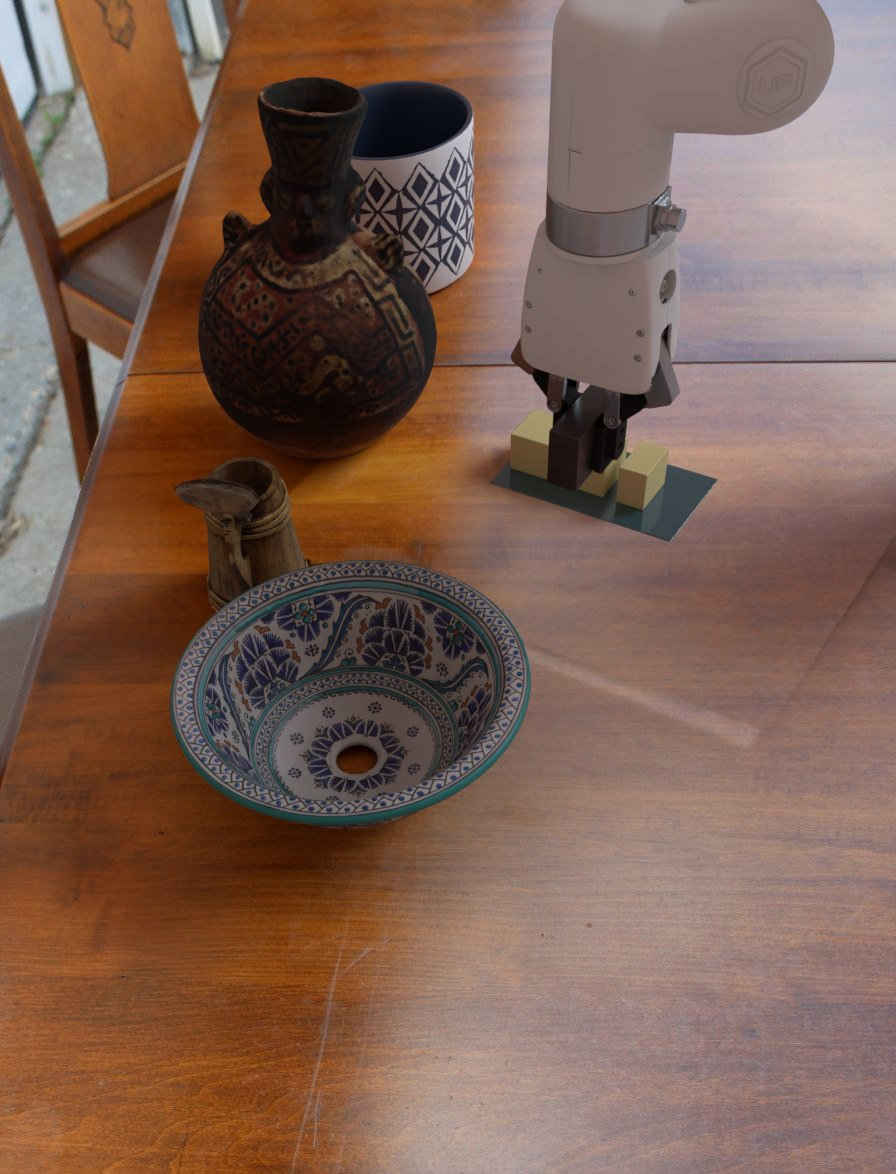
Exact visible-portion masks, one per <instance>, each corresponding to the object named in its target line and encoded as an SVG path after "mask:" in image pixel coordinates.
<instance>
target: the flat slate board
mask: <svg viewBox="0 0 896 1174" xmlns="http://www.w3.org/2000/svg"><path fill="white" fill-rule="evenodd" d="M631 453H632V452H628V451H627V453H626V459H627V458H628V457H629V455H630V454H631ZM718 481H719V479H718V478H715V477H711V476H708V475H705V474H701V473H698V472H696V471H692V470H688V469H685V468H682V467H679V466H675V465H672V464H668V463H667V468H666V475H665V483H664V485H663V486H662V487H661V488H660V490H659V491H658V492H657V493H656V495H655V496H654V497H653V498H652V500H651V501H650V502H649V503H648V505H647V506H646V507H645V508H644V510H640V509H637V508H634V507H631V506H628V505H625V504H621V503H618V502H616V498H617V488H618V480H617V481H616V482H615V483H614V485H613V486H612V487H611V488H610V489H609V491H608V492H607V493H606V494H605V495H604V497H600V496H597V495H594V494H590V493H587V492H584V491H581V490H577V491H576V492H574V491H571V490H568V489H565V488H561V487H558V486H555V485H552V484H549V483H547V479H543V478H540V477H537V476H534V475H531V474H528V473H525V472H521V471H518V470H515V469H512V468H510V459H509V461H507V463H506V464H505V465H504V466H502V468H501V469H500V470H499V471H498V473H497V474H496V475H495V476H494V477H493V478H492V479H491V480H490V482H489V484H491V485H493V486H497V487H500V488H503V489H506V490H510V491H513V492H516V493H518V494H522V495H524V496H527V497H531V498H535V499H537V500H540V501H543V502H546V503H549V504H553V505H555V506H558V507H561V508H564V509H568V510H570V511H574V512H577V513H580V514H582V515H586V516H589V517H592V518H595V519H598V520H601V521H603V522H608V523H610V524H613V525H617V526H620V527H622V528H626V529H629V530H632V531H634V532H638V533H641V534H645V535H648V536H650V537H653V538H656V539H659V540H663V541H666V542H669V543H670V542H671V543H672V541H673V540H674V538H675V537H676V536H677V534H678V533H679V532H680V530H681V529H682V528H683V527H684V525H685V524H686V523H687V521H688V520H689V519H690V517H691V516H692V515H693V514H694V512H695V511H696V509H697V508H698V507H699V506H700V505H701V503H702V502H703V501H704V499H705V498H706V497H707V496H708V494H709V493H710V491H712V489H713V488H714V486H715V485H716V484H717V482H718Z"/></svg>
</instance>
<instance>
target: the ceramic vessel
mask: <svg viewBox="0 0 896 1174" xmlns="http://www.w3.org/2000/svg"><path fill="white" fill-rule="evenodd" d="M356 89H357V88H355V87H353V86H350V85H347V84H345V83H344V82H342V81H339V80H337V79H335V78H327V77H321V76H308V77H307V76H304V77H303V76H301V77H296V78H292V79H287V80H284V81H277V82H273V83H271V84H268V85H266V86H264V87H263V89H262V90H260V91H259V93H258V95H257V99H256V100H257V101H256V103H257V109H258V117H259V120H260V126H261V130H262V133H263V136H264V140H265V142H266V147H267V150H268V154H269V158H270V164H271V166H270V167H269V168H268V169H267V171H266V172H265V173H264V175H263V177H262V179H261V182H260V184H259V187H258V191H259V196H260V199H261V202H262V204H263V205H264V207H265V209H266V210H267V212H268V213H269V215H270V216H269V217H268V218H267V219H266V220H264V221H261V222H260V223H258V224H256V223H252V222H251V221H250V220H249V219H248V218H247V217H246V216H245V215H244V214H243V213H241V212H239V211H238V210H230V211H228V212H227V214H225V215H224V216H223V218H222V222H221V223H222V224H221V225H222V228H221V229H222V230H221V232H222V240H223V247H224V249H223V252H222V254H221V256H220V257H219V259H218V260H217V262H216V263H215V264H214V265H213V267H212V270H211V272H210V274H209V276H208V277H207V280H206V282H205V283H204V284H205V285H204V288H203V290H202V294H201V298H200V304H199V310H198V322H197V342H198V351H199V352H198V353H199V358H200V363H201V368H202V371H203V374H204V377H205V380H206V382H207V384H208V386H209V388H210V390H211V392H212V395H213V397H214V398H215V400H216V401H217V403H218V404H219V406H220V407H221V409H222V410H223V411H224V413H225V414H226V415H227V416H228V417H229V418H230V419H231V420H232V421H233V422H234V423H235V424H237V425H238V426H239V427H240V428H241V429H243V430H244V431H245V432H247V433H248V434H249V435H250V436H252V437H254V438H255V439H256V440H258V441H259V442H261V444H263V445H264V446H267V447H269V448H271V449H273V450H276V451H278V452H280V453H282V454H284V455H287V456H290V457H294V458H297V459H301V460H310V461H325V460H331V459H339V458H342V457H347V456H350V455H353V454H356V453H358V452H361V451H364V450H365V449H367V448H369V447H371V446H372V445H373V444H375V443H376V442H378V441H379V440H381V439H382V438H383V437H384V436H386V435H387V434H389V433H390V431H392V430H393V429H394V428H395V427H396V426H397V425H399V423H400V422H401V421H402V420H403V419H404V418H405V417H406V416H407V415H408V414H409V413H410V411H411V410H412V409H413V407H414V406H415V405H416V404H417V402H418V401H419V399H420V397H421V395H422V393H423V392H424V390H425V388H426V386H427V383H428V381H429V379H430V376H431V374H432V371H433V368H434V364H435V358H436V351H437V346H438V345H437V344H438V329H437V324H436V318H435V314H434V313H435V312H434V309H433V306H432V303H431V299H430V296H429V294H427V291H426V289H425V286H424V284H423V282H422V280H421V279H420V277H419V275H418V274H417V272H416V271H415V269H414V268H413V267H412V266H411V265H410V264H409V262H408V261H407V260H406V259H405V258H404V255H405V252H404V245H403V242H402V240H401V239H400V238H399V237H398V236H396V235H394V234H391V233H383V234H378V235H376V234H374V233H373V232H371V231H369V230H368V229H366V228H365V227H363V226H361V225H359V224H358V223H356V222H354V221H352V220H351V219H352V218H353V217H354V215H355V214H356V213H357V212H358V211H359V210H360V209H361V207H362V206H363V204H364V202H365V198H366V186H365V183H364V181H363V179H362V177H361V176H360V175H359V173H358V172H357V171H356V170H354V169H353V167H352V165H351V159H352V154H353V149H354V145H355V142H356V140H357V137H358V134H359V131H360V129H361V126H362V123H363V120H364V119H365V116H366V112H367V108H368V100H367V98H366V96H365V95H363V94H361V93H360V91H358V90H356Z"/></svg>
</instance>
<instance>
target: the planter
mask: <svg viewBox="0 0 896 1174" xmlns="http://www.w3.org/2000/svg"><path fill="white" fill-rule="evenodd" d="M355 89H356V90H358V91H360V93H361V94H363V95H365V96H366V98H367V100H368V108H367V112H366V116H365V119H364V120H363V123H362V126H361V129H360V131H359V134H358V137H357V140H356V142H355V145H354V149H353V154H352V159H351V165H352V167H353V169H354V170H356V171H357V172H358V173H359V175H360V176H361V177H362V179H363V181H364V183H365V186H366V198H365V202H364V204H363V206H362V207H361V209H360V210H359V211H358V212H357V213H356V214H355V215H354V217H353V218H352V219H351V220H352V221H354V222H356V223H358V224H359V225H361V226H363V227H365V228H366V229H368V230H369V231H371V232H373V233H374V234H376V235H378V234H383V233H391V234H394V235H396V236H398V237H399V238H400V239H401V240H402V242H403V245H404V252H405V255H404V258H405V259H406V260H407V261H408V262H409V264H410V265H411V266H412V267H413V268H414V269H415V271H416V272H417V274H418V275H419V277H420V279H421V280H422V282H423V284H424V286H425V289H426V291H427V294H428V295H430V294H434V293H436V292H438V291H441V290H443V289H444V288H446V287H448V286H450V285H451V284H453V283H455V282H456V281H457V280H459V278H461V277H462V276H464V274H465V273H466V272H467V271H468V270H469V268H470V266H471V264H472V263H473V260H474V257H475V150H474V149H475V145H474V144H475V143H474V141H475V140H474V139H475V136H474V135H475V134H474V133H475V132H474V128H475V127H474V108H473V106H472V104H471V102H470V101H469V100H468V98H467V97H466V96H465V95H464V94H462V93H461V92H459V91H457V90H455V89H453V88H451V87H448V86H446V85H443V84H438V83H434V82H427V81H420V80H419V81H417V80H396V81H387V82H381V83H374V84H370V85H365V86H362V87H359V88H355Z"/></svg>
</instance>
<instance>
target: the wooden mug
mask: <svg viewBox="0 0 896 1174" xmlns="http://www.w3.org/2000/svg"><path fill="white" fill-rule="evenodd" d="M173 491H174V492H175V495H176V496H177V497H178V498H179V500H180V501H182V502H183V503H185V504H186V505H188V506H191V507H193V508H196V509H199V510H201V511H202V514H203V518H204V521H205V525H206V533H207V549H208V573H207V576H206V585H207V597H208V596H209V598H208V600H209V599H210V601H211V604H212V606H213V607H214V608H215V610H217V611H219V610H220V609H221V608H223V607H224V606H225V605H226V604H228V603H229V602H230V601H232V600H233V599H235V598H236V597H238V596H239V595H241V594H242V593H244V592H246V591H248V590H250V589H251V588H253V587H255V586H257V585H259V584H261V583H263V582H266V581H268V580H270V579H272V578H275V577H278V576H280V575H283V574H285V573H289V572H292V571H295V570H298V569H302V568H306V567H309V564H308V559H307V557H305V555H304V554H303V552H302V549H301V545H300V542H299V538H298V535H297V532H296V531H297V530H296V529H295V525H294V522H293V521H294V520H293V518H292V503H291V499H290V495H289V493H288V489H287V486H286V483H285V481H284V480H283V479H282V478H281V475H280V471H279V469H278V468H277V467H276V466H275V464H273V463H271V462H270V461H268V460H267V459H264V458H261V457H257V456H238V457H232V458H229V459H226V460H224V461H222V462H221V463H220V464H218V465H217V466H216V467H214V468H213V469H212V470H211V471H210V473H209V474H208V475H207V477H202V478H195V479H189V480H186V481H183V482H180V483H178V484H177V485H175V486H174V488H173ZM210 601H209V602H210ZM211 604H210V605H211Z"/></svg>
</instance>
